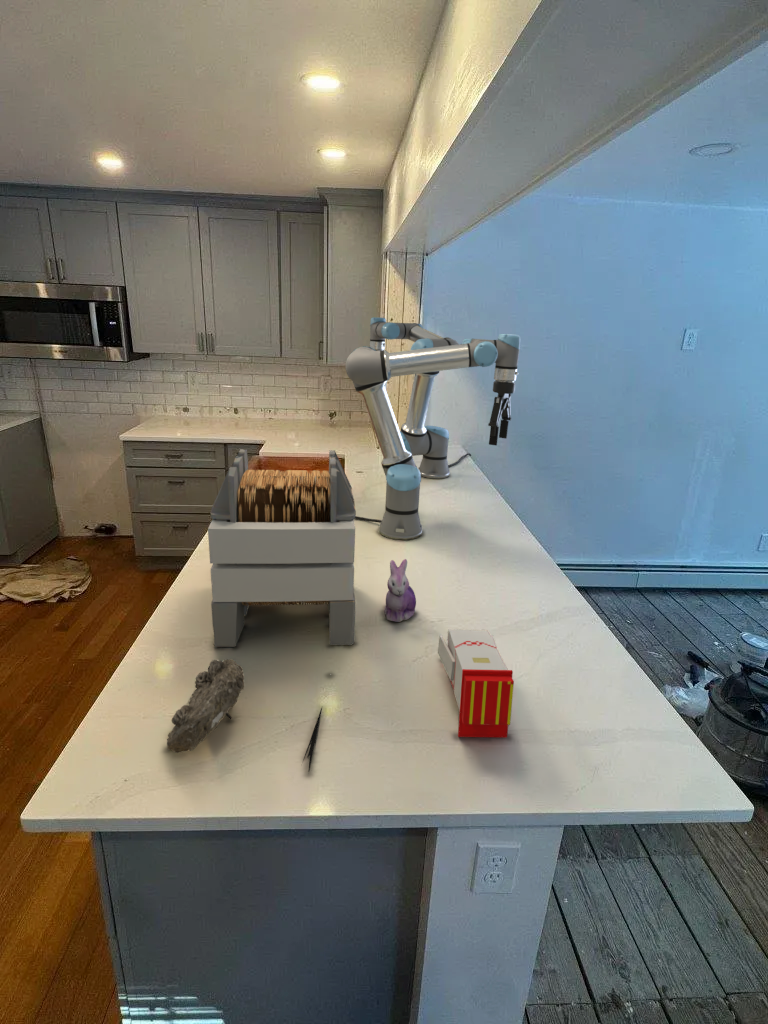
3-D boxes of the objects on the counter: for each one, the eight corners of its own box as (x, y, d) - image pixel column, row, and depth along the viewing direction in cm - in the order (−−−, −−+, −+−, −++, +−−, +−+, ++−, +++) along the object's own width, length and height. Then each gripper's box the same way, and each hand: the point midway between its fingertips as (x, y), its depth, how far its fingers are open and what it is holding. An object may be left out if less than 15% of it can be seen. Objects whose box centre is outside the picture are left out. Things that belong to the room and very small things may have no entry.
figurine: (392, 627, 141) (395, 572, 136) (374, 608, 149) (376, 556, 144) (425, 619, 145) (429, 566, 140) (405, 601, 154) (408, 550, 149)
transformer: (232, 581, 160) (225, 440, 147) (348, 580, 164) (351, 442, 150) (211, 649, 129) (199, 477, 115) (355, 646, 132) (360, 479, 119)
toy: (488, 613, 130) (523, 677, 101) (484, 667, 133) (517, 744, 104) (435, 612, 130) (455, 676, 101) (432, 666, 133) (451, 743, 103)
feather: (331, 679, 122) (336, 673, 122) (307, 777, 96) (313, 769, 95) (324, 675, 122) (329, 669, 121) (298, 772, 95) (304, 764, 95)
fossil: (192, 660, 117) (244, 628, 112) (224, 691, 120) (276, 661, 115) (142, 746, 98) (202, 712, 93) (182, 779, 101) (242, 748, 96)
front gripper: (506, 385, 184) (499, 449, 191) (523, 378, 205) (516, 436, 212) (484, 383, 187) (477, 446, 194) (503, 376, 208) (496, 434, 215)
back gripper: (375, 351, 271) (373, 400, 278) (392, 350, 287) (390, 396, 295) (361, 350, 274) (360, 398, 281) (378, 349, 290) (377, 394, 298)
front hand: (497, 441), depth 203 cm, fingers open, 13 cm apart
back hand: (375, 397), depth 288 cm, fingers closed on block, 6 cm apart
